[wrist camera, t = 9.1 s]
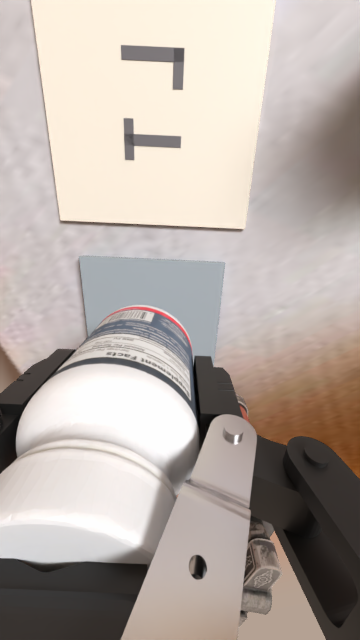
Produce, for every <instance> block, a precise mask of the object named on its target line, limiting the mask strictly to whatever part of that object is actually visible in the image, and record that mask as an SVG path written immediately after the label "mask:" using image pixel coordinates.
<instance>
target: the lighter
mask: <svg viewBox="0 0 360 640" xmlns="http://www.w3.org/2000/svg"><path fill="white" fill-rule="evenodd" d="M236 397H237V400H238V403H239V406H240V409H241V412H242V415H243V418H244V419H245V420H246V421H247V422H249V419H248V409H247V406H246V403H245V401H244V399H243V398H242V397H241V396H239V395H237V394H236ZM249 423H250V422H249ZM273 532H274V528H273V526H272V524H270V523H268V522H265V521H263V520H260V519H258V518H256V517H253V516H251V515H250V526H249V535H248V545H247V554H246V563H245V573H244V582H243V591H242V601H241V610H240V619H239V627H240V626H241V624H242V623H243V622H244V621H245V620H246V619H247V613H248V612H255V613H260V614H265V615H266V614H267V613H268V612H269V611H270V609H271V605H272V595H271V591H272V586H273V585H274V584H275V582H276V581H277V580H278V579H279V578H280V577H281V575H282V571H281V568H280V564H279V560H278V557H277V553H276V550H275V546H274V543H273V542H272V541H270V536H271V535H272V533H273Z"/></svg>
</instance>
